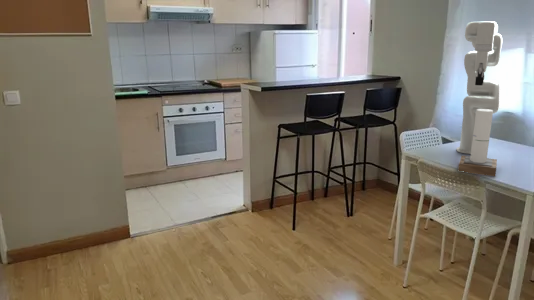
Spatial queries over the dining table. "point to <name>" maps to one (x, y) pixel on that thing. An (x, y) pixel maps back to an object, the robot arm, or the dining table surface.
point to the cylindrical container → (481, 135)
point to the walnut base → (478, 166)
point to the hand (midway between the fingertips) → (479, 84)
